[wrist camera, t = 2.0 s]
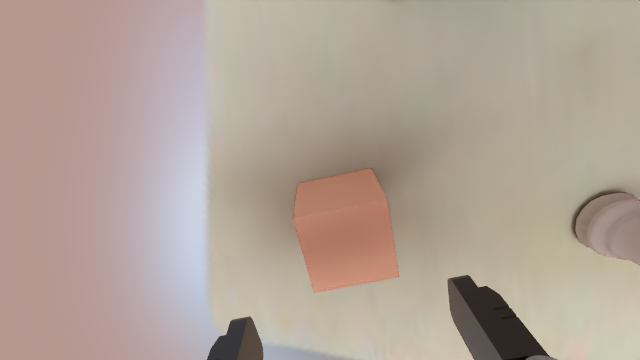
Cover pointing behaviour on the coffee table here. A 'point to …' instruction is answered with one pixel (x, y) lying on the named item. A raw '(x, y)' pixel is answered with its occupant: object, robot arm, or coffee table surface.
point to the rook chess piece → (611, 226)
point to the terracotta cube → (345, 230)
